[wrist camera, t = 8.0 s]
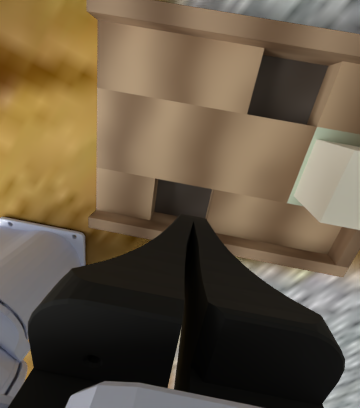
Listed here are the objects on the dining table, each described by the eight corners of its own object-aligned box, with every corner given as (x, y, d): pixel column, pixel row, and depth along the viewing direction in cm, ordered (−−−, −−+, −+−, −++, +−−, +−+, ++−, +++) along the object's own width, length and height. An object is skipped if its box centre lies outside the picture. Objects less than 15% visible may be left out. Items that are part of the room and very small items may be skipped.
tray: (105, 210, 23) (88, 227, 19) (110, 12, 16) (86, -11, 13) (322, 252, 22) (342, 277, 19) (420, 64, 15) (476, 53, 12)
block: (293, 196, 18) (319, 222, 14) (316, 139, 16) (354, 150, 12) (349, 206, 18) (393, 236, 14) (379, 150, 16) (439, 165, 12)
